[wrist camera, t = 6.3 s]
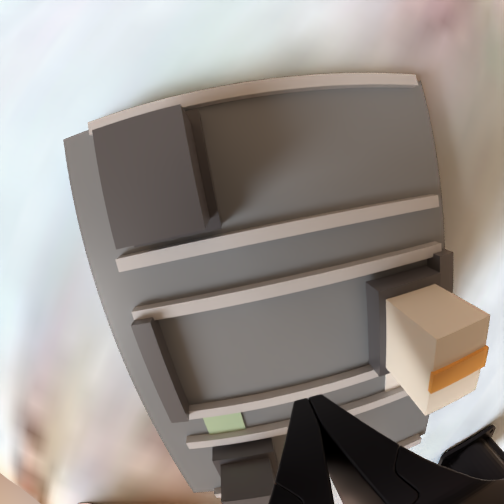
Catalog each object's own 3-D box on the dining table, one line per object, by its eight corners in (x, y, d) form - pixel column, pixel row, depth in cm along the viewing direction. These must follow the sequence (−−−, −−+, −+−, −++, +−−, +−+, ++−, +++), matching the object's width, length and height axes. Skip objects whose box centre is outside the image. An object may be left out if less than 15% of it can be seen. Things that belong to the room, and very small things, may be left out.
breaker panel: (403, 85, 12) (471, 56, 7) (414, 421, 17) (450, 469, 12) (78, 140, 11) (10, 124, 6) (195, 476, 16) (192, 538, 11)
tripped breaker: (424, 265, 12) (500, 302, 7) (422, 343, 13) (480, 396, 8) (365, 281, 12) (432, 333, 7) (368, 362, 13) (418, 429, 8)
